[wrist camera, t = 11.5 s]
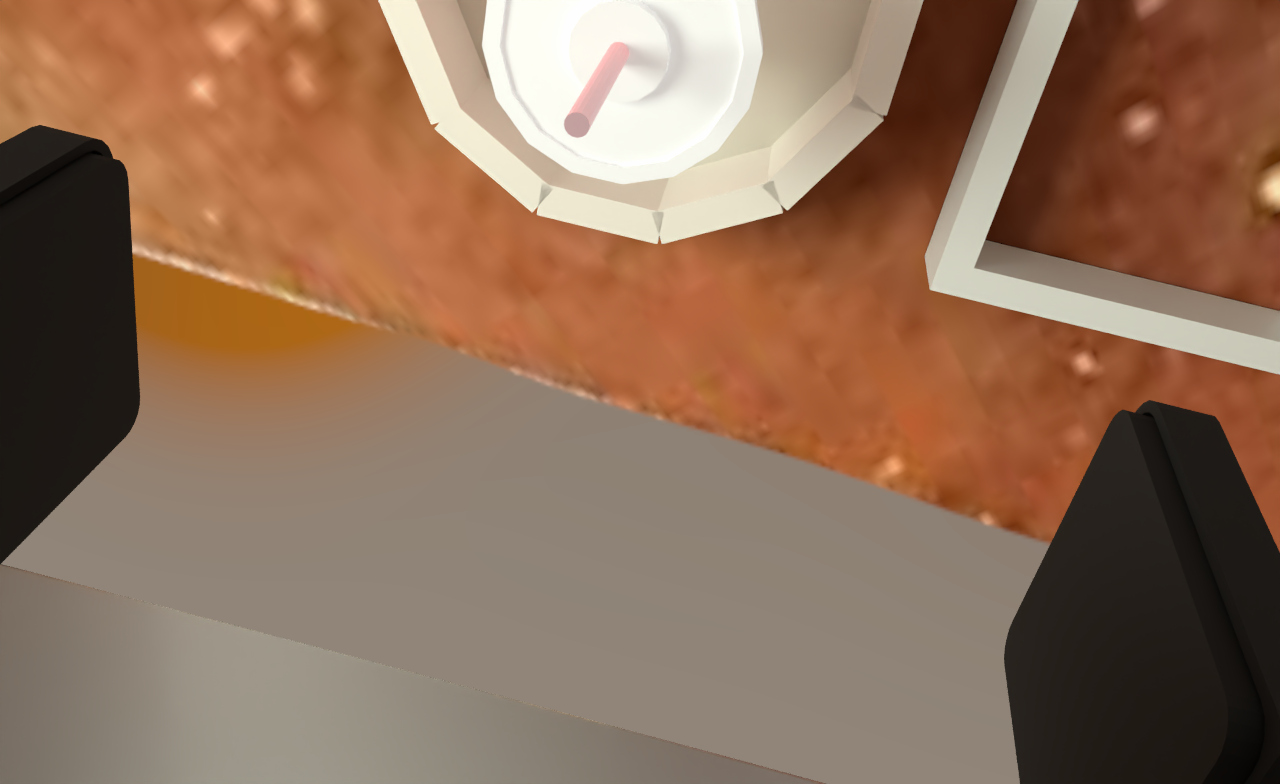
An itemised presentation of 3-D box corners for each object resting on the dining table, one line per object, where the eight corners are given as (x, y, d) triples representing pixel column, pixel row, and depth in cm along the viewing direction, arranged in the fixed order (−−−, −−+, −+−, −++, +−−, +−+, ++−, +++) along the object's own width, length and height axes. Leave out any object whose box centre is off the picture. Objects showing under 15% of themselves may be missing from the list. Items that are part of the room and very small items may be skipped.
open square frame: (1522, -44, 31) (1571, -24, 29) (1296, 346, 37) (1323, 385, 35) (1071, -150, 31) (1088, -138, 29) (924, 256, 37) (929, 289, 35)
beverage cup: (810, 27, 33) (795, 221, 22) (613, 102, 35) (502, 318, 23) (733, -196, 31) (669, -115, 19) (526, -102, 33) (350, 25, 21)
